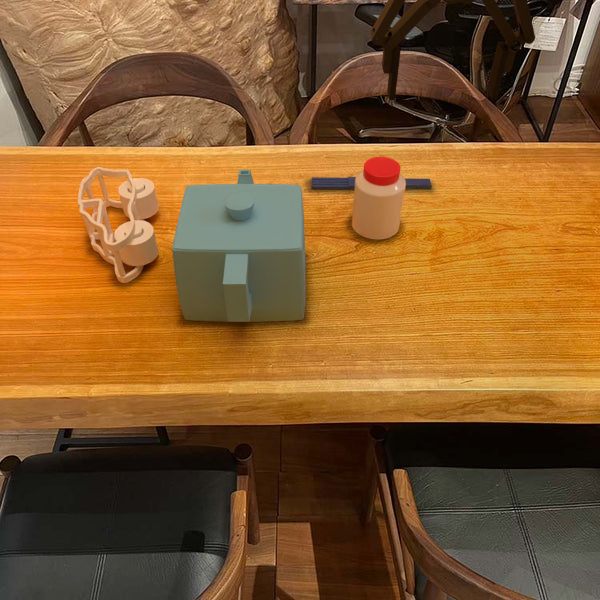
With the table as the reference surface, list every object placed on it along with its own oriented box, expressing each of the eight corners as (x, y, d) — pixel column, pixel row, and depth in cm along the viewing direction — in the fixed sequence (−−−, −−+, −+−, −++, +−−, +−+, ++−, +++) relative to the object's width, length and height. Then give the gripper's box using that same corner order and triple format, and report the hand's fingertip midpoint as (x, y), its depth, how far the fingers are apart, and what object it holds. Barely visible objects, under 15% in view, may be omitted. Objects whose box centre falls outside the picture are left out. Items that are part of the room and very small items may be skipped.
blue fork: (429, 180, 103) (429, 177, 103) (431, 190, 102) (431, 186, 101) (311, 180, 104) (311, 176, 103) (311, 189, 102) (311, 185, 101)
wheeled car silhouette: (160, 279, 86) (151, 241, 81) (83, 287, 85) (69, 249, 80) (160, 198, 100) (152, 161, 95) (94, 205, 99) (82, 167, 93)
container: (177, 347, 77) (156, 261, 66) (199, 227, 95) (185, 142, 83) (306, 347, 77) (307, 260, 66) (304, 227, 95) (305, 142, 84)
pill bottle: (342, 229, 94) (346, 171, 86) (365, 204, 99) (371, 147, 91) (386, 246, 91) (394, 187, 83) (407, 219, 96) (416, 161, 88)
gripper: (576, -99, 66) (526, 81, 82) (356, -97, 67) (347, 83, 82) (600, -82, 61) (541, 108, 76) (361, -80, 61) (350, 109, 76)
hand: (441, 95), depth 79 cm, fingers open, 13 cm apart
